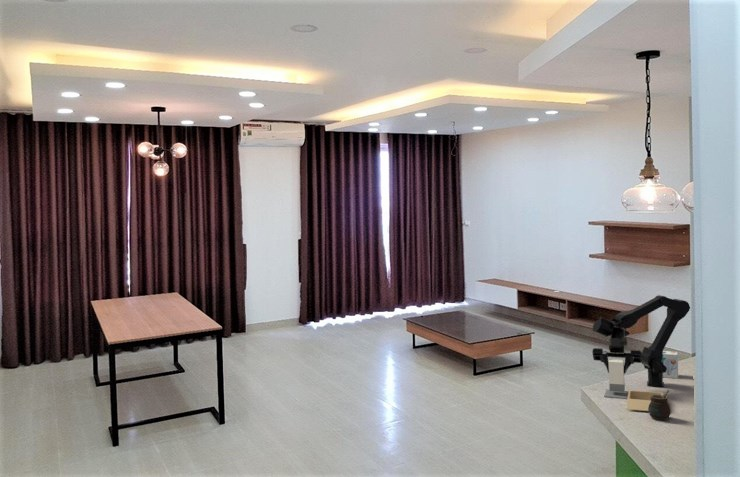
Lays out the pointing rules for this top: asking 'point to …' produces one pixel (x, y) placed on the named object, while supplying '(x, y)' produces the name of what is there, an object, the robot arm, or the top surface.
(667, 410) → the mate gourd
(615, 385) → the box
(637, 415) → the top surface
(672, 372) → the light bulb box
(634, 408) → the tan rectangular open frame
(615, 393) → the mat
